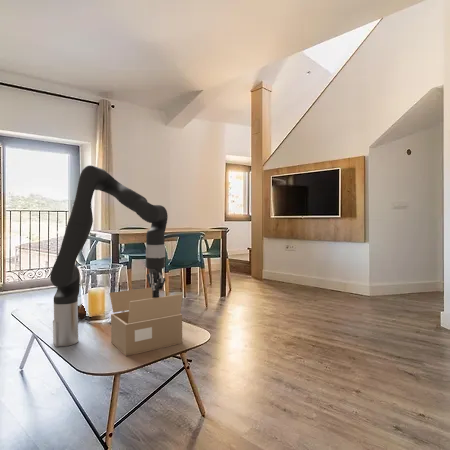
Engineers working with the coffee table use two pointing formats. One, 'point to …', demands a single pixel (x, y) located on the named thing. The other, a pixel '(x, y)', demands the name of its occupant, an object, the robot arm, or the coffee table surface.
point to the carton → (145, 333)
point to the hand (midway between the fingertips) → (155, 299)
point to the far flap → (128, 298)
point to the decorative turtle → (81, 312)
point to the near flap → (154, 308)
